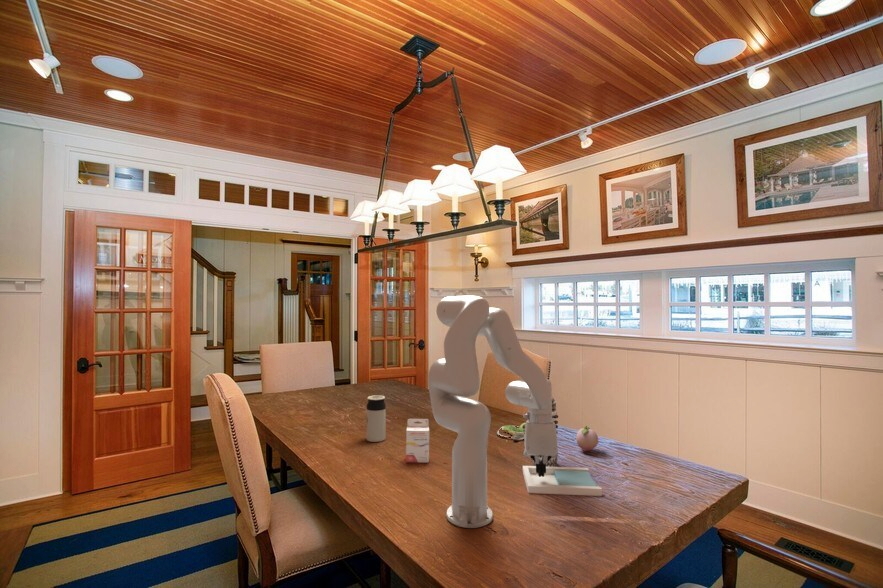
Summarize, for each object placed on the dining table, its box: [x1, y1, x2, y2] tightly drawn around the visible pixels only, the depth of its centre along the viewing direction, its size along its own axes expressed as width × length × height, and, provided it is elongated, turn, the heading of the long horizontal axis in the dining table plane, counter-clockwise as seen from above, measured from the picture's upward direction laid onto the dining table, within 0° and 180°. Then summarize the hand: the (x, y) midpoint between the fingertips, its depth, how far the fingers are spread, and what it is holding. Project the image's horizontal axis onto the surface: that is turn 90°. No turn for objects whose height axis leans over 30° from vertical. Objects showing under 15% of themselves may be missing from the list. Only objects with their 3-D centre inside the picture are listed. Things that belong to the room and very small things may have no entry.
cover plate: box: [554, 470, 599, 487], centre depth 135 cm, size 12×11×2 cm
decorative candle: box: [532, 396, 559, 467], centre depth 150 cm, size 9×9×25 cm
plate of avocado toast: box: [496, 422, 526, 441], centre depth 187 cm, size 19×18×5 cm
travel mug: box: [366, 394, 387, 443], centre depth 181 cm, size 8×8×18 cm
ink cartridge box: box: [405, 418, 430, 463], centre depth 157 cm, size 9×5×15 cm, turn 92°
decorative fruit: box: [575, 425, 599, 452], centre depth 167 cm, size 9×8×10 cm
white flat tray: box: [522, 465, 603, 497], centre depth 135 cm, size 16×22×3 cm
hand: (540, 474), depth 136 cm, fingers closed
